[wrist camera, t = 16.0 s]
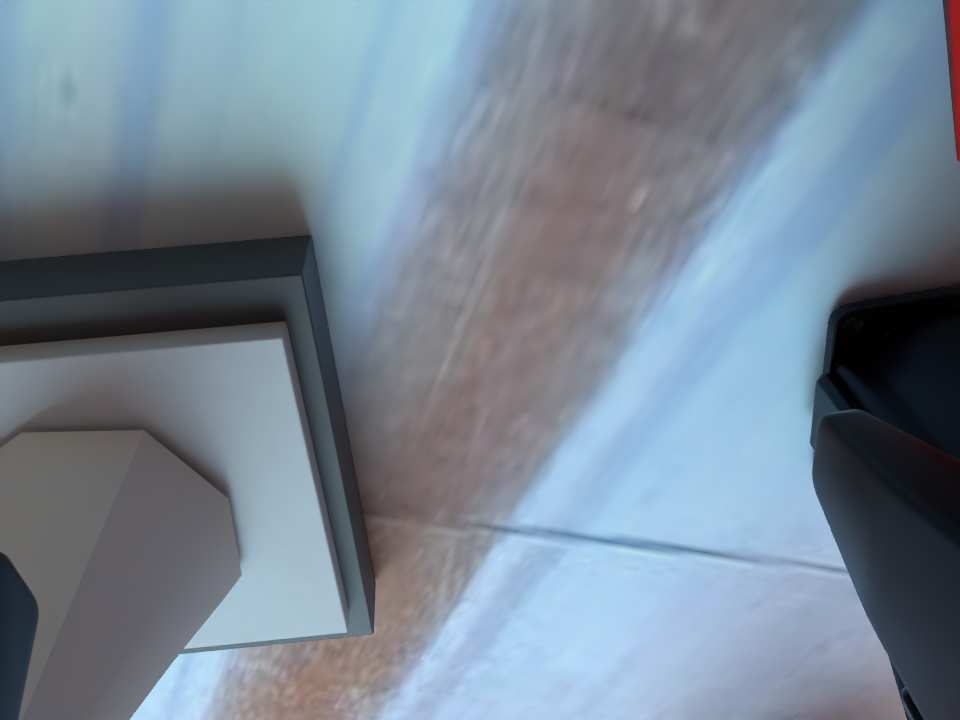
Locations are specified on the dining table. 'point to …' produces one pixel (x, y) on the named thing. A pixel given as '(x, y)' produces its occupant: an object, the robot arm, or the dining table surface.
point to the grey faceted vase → (110, 564)
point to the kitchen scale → (209, 409)
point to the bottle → (954, 61)
